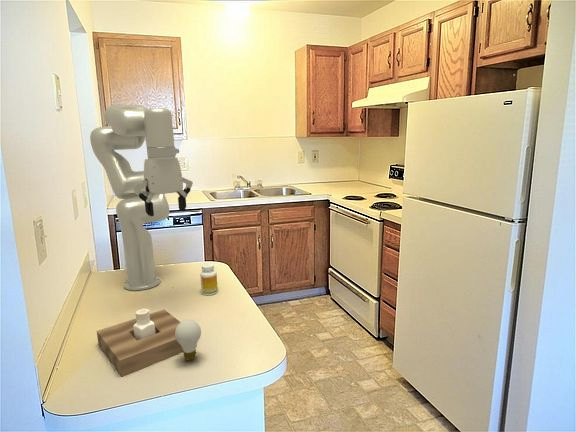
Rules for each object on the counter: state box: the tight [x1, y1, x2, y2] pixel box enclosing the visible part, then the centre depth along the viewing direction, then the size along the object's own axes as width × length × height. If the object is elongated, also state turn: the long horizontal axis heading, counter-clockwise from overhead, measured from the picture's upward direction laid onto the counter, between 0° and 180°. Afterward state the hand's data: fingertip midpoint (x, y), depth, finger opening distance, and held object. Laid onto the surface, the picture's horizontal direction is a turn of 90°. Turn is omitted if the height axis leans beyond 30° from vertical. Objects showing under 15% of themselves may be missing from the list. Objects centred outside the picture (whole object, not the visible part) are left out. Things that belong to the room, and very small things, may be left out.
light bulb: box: [175, 319, 202, 361], centre depth 91 cm, size 6×6×10 cm
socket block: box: [96, 309, 184, 377], centre depth 98 cm, size 18×18×4 cm
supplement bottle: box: [199, 263, 219, 296], centre depth 130 cm, size 5×5×10 cm
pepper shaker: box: [133, 308, 156, 340], centre depth 98 cm, size 4×4×10 cm
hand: (166, 212), depth 113 cm, fingers open, 9 cm apart
